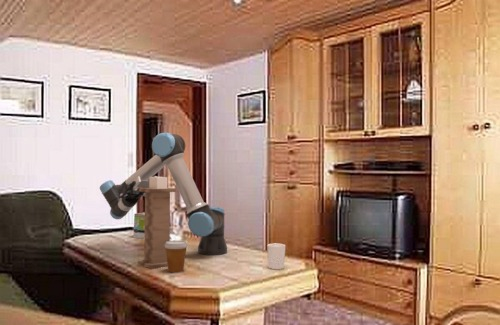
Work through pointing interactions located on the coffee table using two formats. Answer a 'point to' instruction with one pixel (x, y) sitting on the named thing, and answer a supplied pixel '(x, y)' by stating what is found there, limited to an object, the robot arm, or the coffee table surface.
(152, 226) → the walnut stand
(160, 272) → the coffee table surface
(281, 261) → the white cup
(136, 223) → the tea box
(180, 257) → the disposable coffee cup
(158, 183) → the block
